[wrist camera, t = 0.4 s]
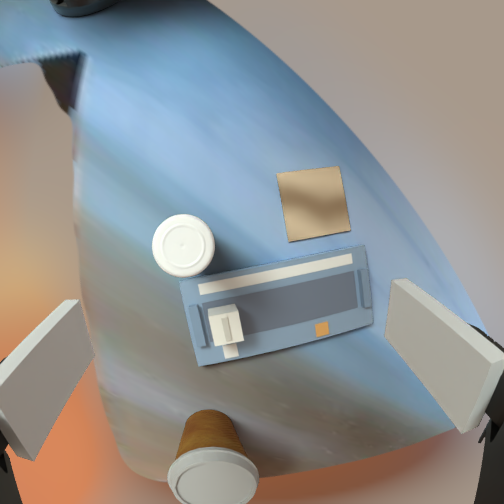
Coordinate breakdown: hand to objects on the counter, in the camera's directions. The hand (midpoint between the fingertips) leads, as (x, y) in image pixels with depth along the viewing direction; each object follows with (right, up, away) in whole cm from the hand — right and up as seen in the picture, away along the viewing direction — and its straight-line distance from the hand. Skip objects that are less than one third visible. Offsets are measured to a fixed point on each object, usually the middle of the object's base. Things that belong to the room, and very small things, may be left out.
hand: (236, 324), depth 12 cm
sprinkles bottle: (-6, +4, +23) cm, 24 cm away
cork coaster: (+8, +9, +25) cm, 28 cm away
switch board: (+4, -3, +25) cm, 25 cm away
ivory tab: (-2, -5, +22) cm, 23 cm away
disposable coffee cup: (-5, -20, +25) cm, 32 cm away
